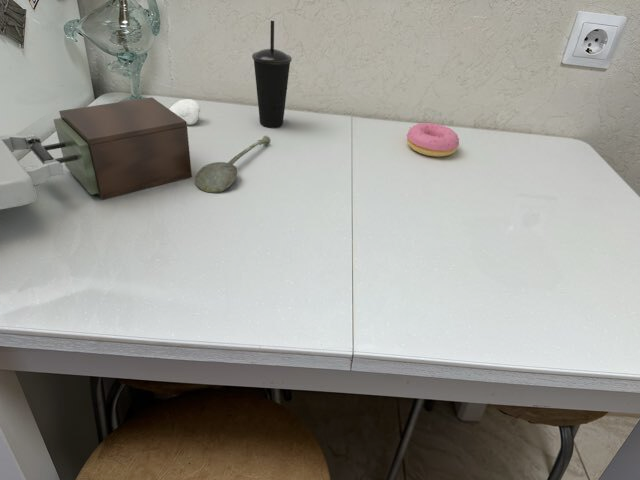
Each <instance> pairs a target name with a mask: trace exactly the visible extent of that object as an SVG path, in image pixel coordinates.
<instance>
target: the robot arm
mask: <svg viewBox="0 0 640 480" xmlns="http://www.w3.org/2000/svg"><path fill="white" fill-rule="evenodd" d="M35 143H39V144H41V145H42V141H41V139H40V138H39V136H37V135H36V134H29V135H15V134H14V135H13V134H5V135H0V210H5V209H12V208H16V207H21V206H27V205H29V204H31V203H33V202H35V201H36V200H37V198H38V195H37V192H36V188H35V186H38V185H41V184H43V183H44V182H46V181H48V180H49V179H51V178H52V177H57V176H61V175H63V174H64V172H65V171H64V166H63V163H60V162H59V161H58V160H57V158H54V159H53V160H47V161H44V163H45V164H42V163H41V164H40V165H38V166H35V167H33V166H27V167H26V166H25V167H23V165H22V164H21V162H20V160H18V158H16V155H15V154H13V153H14V152H15V151H23V150H28V151H29V152H32V150H31V146H32V145H33V144H35ZM42 146H43V145H42Z"/></svg>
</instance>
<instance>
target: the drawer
mask: <svg viewBox="0 0 640 480" xmlns="http://www.w3.org/2000/svg"><path fill="white" fill-rule="evenodd" d="M53 124H54V128H55V131H56V135H57V139H58V142H57V143H51V144H46V145H41V144H42V143H41V144H39V143H35V144H33V145H32V146H31V150H32V151H31V152H32V153H33V155H35V157H36V158H37V159H38V160H39V161H40V163H41V165H42V164H45V163H44V161H47V160H53V159H55V158H54V157H53V156H52V154H51V153H50V152H49V151H52V150H58V149H60V151H61V154H62V157H57V158H56V159H57V160H58V161H59V162H60V163H61V164H63V163H64V166H65V167H66V169H68V170H69V172H70V173H71V174H72V175H73V176H74V177H75V179H76V180H77V181H78V182H79V183H80V184H81V185H82V186H83V187H84V189H85V190H86V191H87V192H88V193H89V194H90V195H98V194H97V193H99V189H98V185H97V180H96V176H95V171H94V167H93V162H92V158H91V153H90V149H89V145H88V142H87V141H86V140H85V139H84V138H83V137H82V136H81V135H80V134H79V133H78V132H77V131H76V132H75V131H74V130H73V129H72V128H71V127H70V126H69V125H68V124H67V123H66V122H65V121H64V120H63V119H62V118H61V117H59V118H54V119H53Z"/></svg>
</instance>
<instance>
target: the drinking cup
mask: <svg viewBox="0 0 640 480" xmlns="http://www.w3.org/2000/svg"><path fill="white" fill-rule="evenodd" d="M269 42H270V43H269V45H270V46H269V48H265V49H261V50H258V51H256V52H253V53H252V54H251V58H252V60H253V65H254V66H253V67H254V77H255V86H256V96H257V107H258V108H257V109H258V116H259V117H258V118H259V124H260V125H261V126H262V127H265V128H271V129H275V128H280V127H282V126H283V125H284V118H285V110H286V109H285V108H286V101H287V92H288V85H289V84H288V83H289V82H288V81H289V77H290V75H289V74H290V67H291V66H290V65H291V63H292V60H293V58H292V56H291V55H289V54H287V53H286V52H284V51H282V50H280V49H275V20H270V41H269Z"/></svg>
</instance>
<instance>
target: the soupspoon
mask: <svg viewBox="0 0 640 480" xmlns="http://www.w3.org/2000/svg"><path fill="white" fill-rule="evenodd" d="M271 141H272V139H271V137H270V136H269V135H264V136H262V138H261V139H258V140H257V141H256V142H254V143H252V144H251V145H249V146H248V147H247V148H245V149H244V150H242V151H241V152H239V153H238V154H236V155H235V156H234V157H232V158H231V159H230V160H229V161H228V162H225V161H217V162H211V163H208V164H206V165H204V166H202V167H201V168H200V169H199V170H198V171H197V173H196V175H195V177H194V178H195V179H194V181H195V184H196V187H197V188H198V189H199V190H201V191H202V192H206V193H212V194H213V193H220V192H223V191H225V190H227V189H228V188H229V187H230V186H232V185H233V183H234V182H235V180H236V179H237V177H238V168H237V166H236V165H234V164H235V163H236V162H237V161H238V160H239V159H240V158H242V157H243V156H244V155H246V154H247V153H249V152H250V151H251V150H252V149H254V148H256V147H257V146H261V145H266V146H268V145H270V144H271Z"/></svg>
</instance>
